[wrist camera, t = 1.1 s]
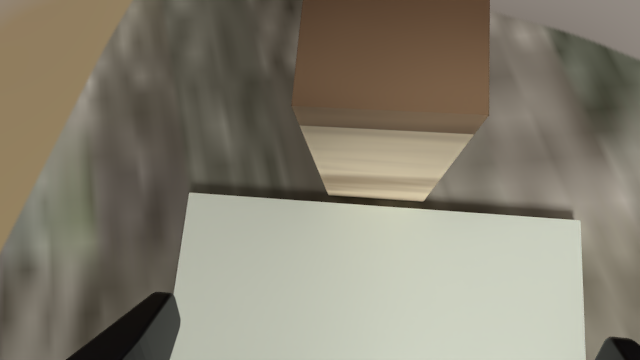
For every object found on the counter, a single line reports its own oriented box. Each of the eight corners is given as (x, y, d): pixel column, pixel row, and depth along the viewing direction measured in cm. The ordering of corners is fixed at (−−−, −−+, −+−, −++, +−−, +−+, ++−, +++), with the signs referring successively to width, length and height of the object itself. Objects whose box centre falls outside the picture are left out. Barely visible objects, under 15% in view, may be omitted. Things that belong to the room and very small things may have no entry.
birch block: (423, 201, 23) (489, 114, 11) (328, 195, 24) (291, 105, 11) (427, 95, 24) (490, -88, 12) (337, 91, 25) (312, -87, 13)
